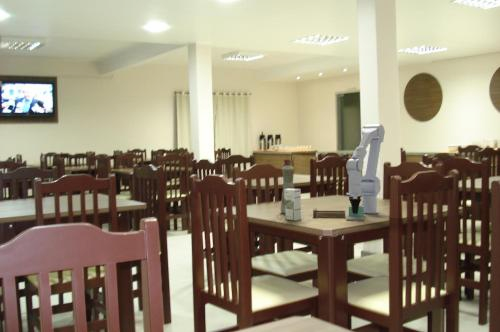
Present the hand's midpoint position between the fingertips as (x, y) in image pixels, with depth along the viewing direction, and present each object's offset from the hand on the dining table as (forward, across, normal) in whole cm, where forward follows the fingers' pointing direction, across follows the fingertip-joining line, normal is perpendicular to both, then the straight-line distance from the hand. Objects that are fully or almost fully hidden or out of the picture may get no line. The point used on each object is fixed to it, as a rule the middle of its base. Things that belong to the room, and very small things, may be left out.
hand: (355, 212), depth 257 cm
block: (+2, 0, +1) cm, 2 cm away
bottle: (+2, -11, -33) cm, 35 cm away
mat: (+2, +8, 0) cm, 9 cm away
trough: (+2, 0, -12) cm, 12 cm away
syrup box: (+2, +11, -29) cm, 31 cm away
